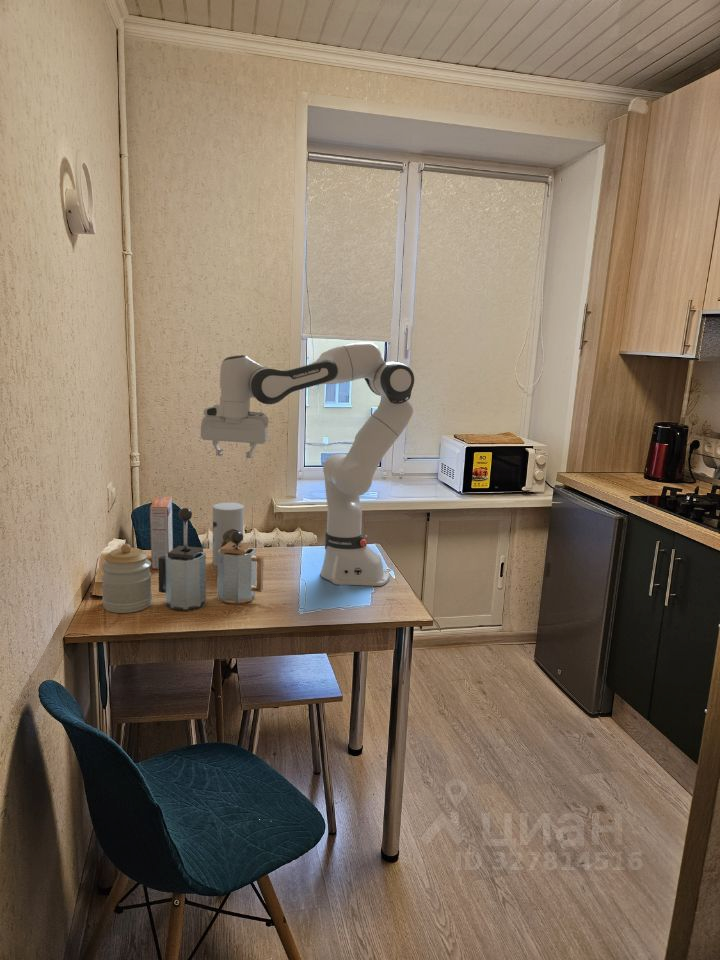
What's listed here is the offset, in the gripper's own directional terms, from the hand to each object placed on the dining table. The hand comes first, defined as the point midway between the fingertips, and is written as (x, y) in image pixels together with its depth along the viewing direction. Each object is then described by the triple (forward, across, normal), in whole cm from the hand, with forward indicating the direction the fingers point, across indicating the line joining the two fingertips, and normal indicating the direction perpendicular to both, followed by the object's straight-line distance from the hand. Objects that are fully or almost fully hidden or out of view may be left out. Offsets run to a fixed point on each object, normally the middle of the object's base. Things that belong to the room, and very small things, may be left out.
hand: (234, 456), depth 199 cm
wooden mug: (+39, +1, -1) cm, 39 cm away
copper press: (+39, -7, +14) cm, 42 cm away
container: (+39, +7, -14) cm, 42 cm away
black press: (+39, +7, +22) cm, 45 cm away
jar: (+39, +21, +27) cm, 52 cm away
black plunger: (+28, +6, +22) cm, 36 cm away
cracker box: (+39, +28, -9) cm, 49 cm away
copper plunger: (+36, -6, +14) cm, 39 cm away
